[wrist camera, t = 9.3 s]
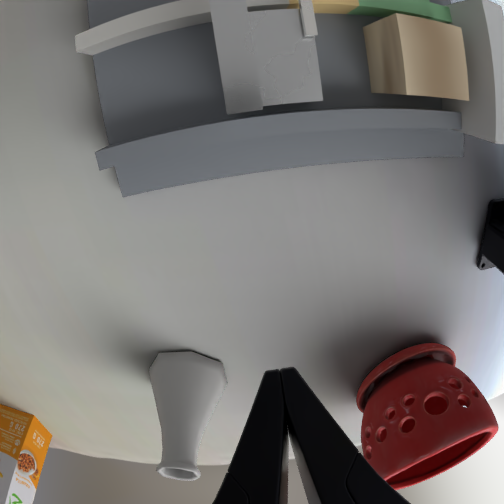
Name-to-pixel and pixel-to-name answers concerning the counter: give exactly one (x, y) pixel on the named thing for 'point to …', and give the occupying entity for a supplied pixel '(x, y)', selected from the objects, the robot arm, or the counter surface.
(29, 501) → the cereal box
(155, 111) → the bench
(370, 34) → the block
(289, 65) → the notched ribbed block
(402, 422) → the plant pot
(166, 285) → the counter surface
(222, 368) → the flask
